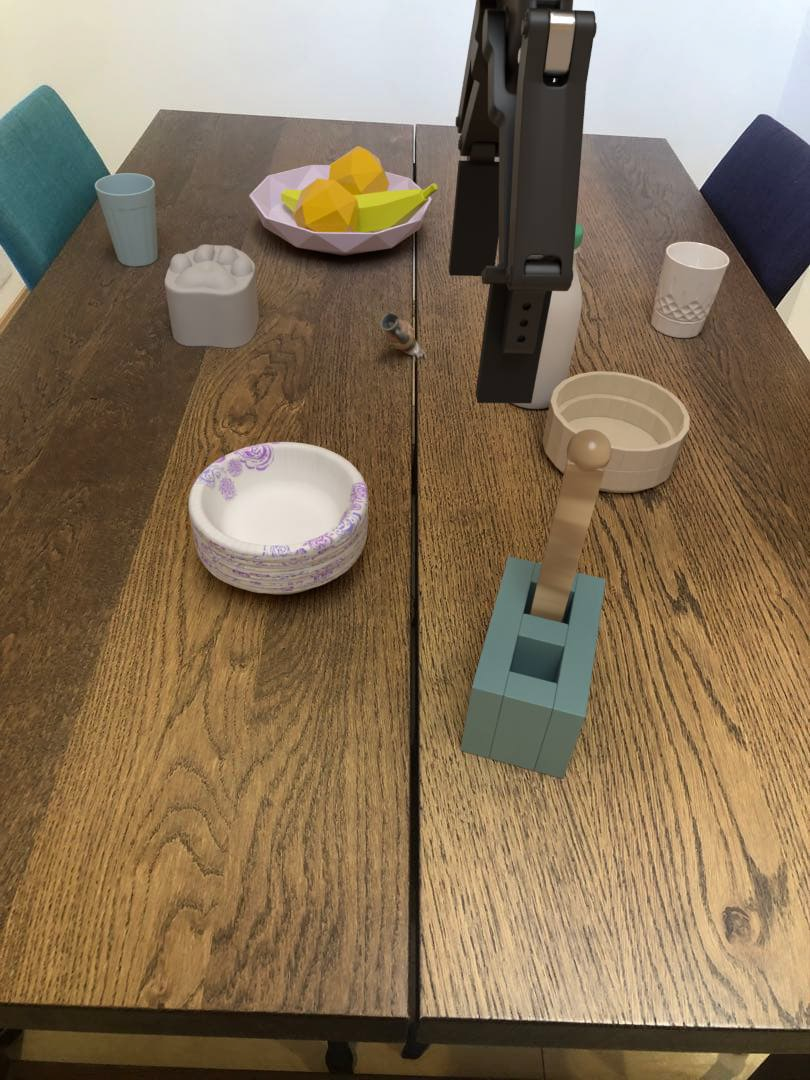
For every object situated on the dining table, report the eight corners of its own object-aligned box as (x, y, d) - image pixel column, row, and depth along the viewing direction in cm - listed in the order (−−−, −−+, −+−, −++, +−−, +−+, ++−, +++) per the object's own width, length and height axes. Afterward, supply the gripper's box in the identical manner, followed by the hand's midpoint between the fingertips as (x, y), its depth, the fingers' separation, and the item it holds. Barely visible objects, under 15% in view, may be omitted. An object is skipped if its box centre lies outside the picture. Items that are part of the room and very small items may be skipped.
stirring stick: (551, 658, 68) (618, 425, 52) (546, 684, 66) (614, 451, 50) (518, 650, 68) (574, 416, 52) (512, 675, 66) (568, 441, 50)
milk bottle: (570, 385, 98) (608, 220, 84) (551, 418, 93) (588, 248, 79) (510, 368, 100) (537, 204, 86) (488, 399, 95) (513, 230, 81)
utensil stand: (585, 643, 69) (606, 578, 64) (563, 779, 60) (585, 717, 54) (495, 621, 71) (508, 555, 65) (460, 750, 61) (471, 687, 56)
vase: (390, 372, 98) (392, 328, 94) (367, 351, 101) (368, 307, 97) (427, 361, 100) (431, 317, 96) (403, 341, 104) (406, 297, 99)
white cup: (634, 322, 110) (653, 250, 103) (669, 306, 114) (690, 236, 107) (681, 347, 106) (705, 274, 99) (716, 329, 110) (742, 258, 103)
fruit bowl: (219, 227, 125) (211, 149, 117) (357, 189, 139) (357, 117, 131) (332, 298, 111) (331, 215, 103) (473, 248, 124) (482, 171, 117)
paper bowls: (250, 485, 82) (244, 420, 76) (391, 529, 78) (395, 464, 73) (164, 587, 71) (150, 520, 66) (322, 643, 68) (321, 577, 62)
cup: (147, 274, 113) (134, 198, 105) (99, 264, 114) (82, 188, 107) (175, 252, 118) (165, 178, 111) (129, 243, 119) (115, 169, 112)
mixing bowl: (676, 431, 92) (691, 386, 88) (670, 510, 82) (687, 463, 78) (552, 406, 95) (561, 361, 91) (531, 479, 85) (541, 432, 81)
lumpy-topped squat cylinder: (166, 344, 100) (154, 278, 94) (187, 294, 109) (178, 230, 103) (251, 349, 100) (245, 283, 94) (265, 298, 110) (261, 235, 104)
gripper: (426, -199, 39) (404, 232, 54) (501, -156, 22) (438, 471, 36) (578, -189, 40) (516, 235, 55) (774, -140, 22) (603, 471, 37)
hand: (485, 330), depth 45 cm, fingers open, 13 cm apart
